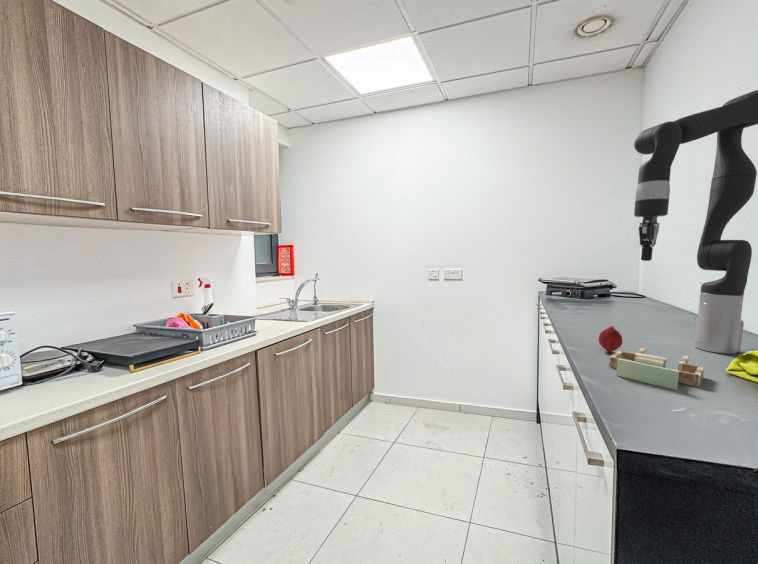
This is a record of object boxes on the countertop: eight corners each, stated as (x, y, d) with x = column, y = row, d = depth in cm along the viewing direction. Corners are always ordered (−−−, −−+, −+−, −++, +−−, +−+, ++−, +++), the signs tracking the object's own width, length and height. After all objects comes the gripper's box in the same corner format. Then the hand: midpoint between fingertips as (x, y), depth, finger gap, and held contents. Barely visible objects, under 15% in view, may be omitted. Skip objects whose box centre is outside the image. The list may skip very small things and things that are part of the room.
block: (638, 373, 84) (640, 353, 83) (664, 379, 80) (666, 358, 80) (633, 378, 81) (635, 357, 80) (660, 384, 77) (663, 362, 76)
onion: (625, 355, 97) (627, 328, 97) (602, 354, 98) (605, 326, 98) (615, 350, 103) (617, 323, 102) (594, 348, 104) (596, 322, 103)
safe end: (617, 374, 82) (618, 358, 82) (677, 388, 74) (679, 370, 74) (616, 375, 82) (617, 359, 81) (676, 389, 74) (678, 371, 73)
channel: (625, 353, 99) (626, 345, 99) (706, 369, 87) (707, 359, 87) (602, 371, 85) (603, 361, 84) (696, 393, 72) (697, 381, 72)
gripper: (664, 195, 90) (658, 261, 92) (672, 200, 99) (667, 260, 101) (630, 198, 95) (624, 260, 97) (640, 202, 104) (635, 259, 106)
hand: (646, 260), depth 99 cm, fingers closed
